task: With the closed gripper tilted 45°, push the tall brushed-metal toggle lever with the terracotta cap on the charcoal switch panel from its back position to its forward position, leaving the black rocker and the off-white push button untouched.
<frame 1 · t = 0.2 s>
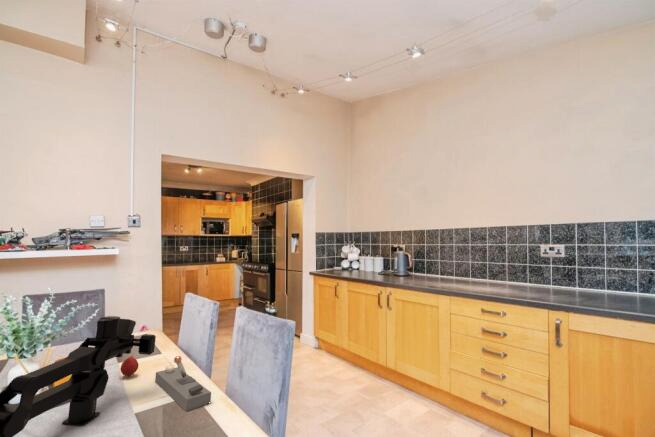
hand: (142, 337, 121), 16 cm above the table, tool horizontal, fingers open, 9 cm apart
push button: (169, 368, 123), point 4 cm above the table, slide at 0.0 cm
rocker: (195, 389, 107), point 5 cm above the table, hinge at -10.0°
switch panel: (181, 391, 114), on the table
onion: (128, 377, 124), on the table
toggle lever: (179, 363, 114), point 10 cm above the table, hinge at -25.0°
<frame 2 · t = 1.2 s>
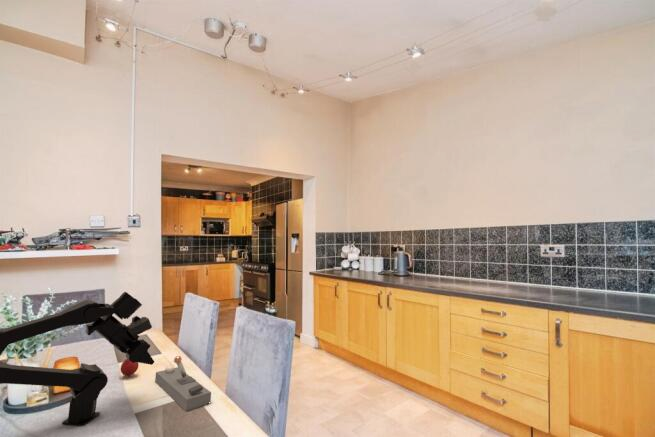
hand: (149, 360, 108), 13 cm above the table, tool tilted 45°, fingers open, 7 cm apart
nothing on the table moved.
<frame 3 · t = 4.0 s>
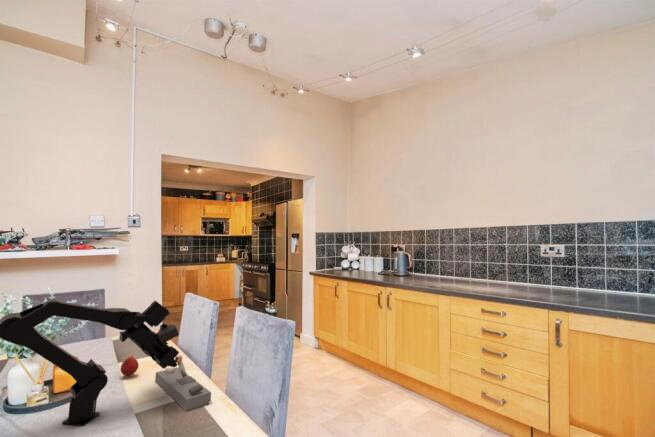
hand: (175, 365, 113), 9 cm above the table, tool tilted 45°, fingers closed, pressing on toggle lever
toggle lever: (180, 363, 114), point 10 cm above the table, hinge at -22.8°, touching gripper
everything else where it was.
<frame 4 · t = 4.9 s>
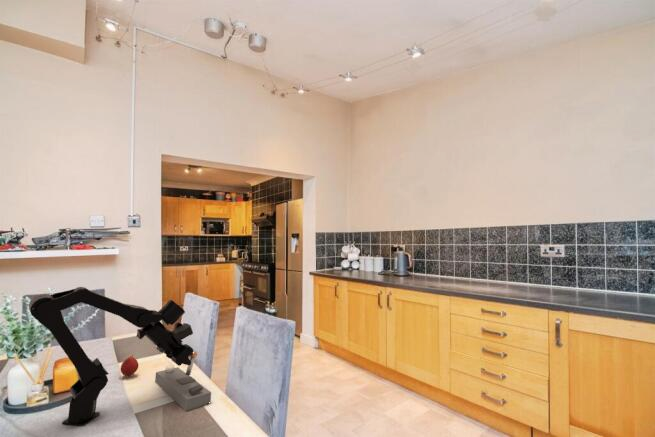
hand: (189, 363, 117), 9 cm above the table, tool tilted 45°, fingers closed on toggle lever
toggle lever: (192, 359, 117), point 10 cm above the table, hinge at 13.1°, touching gripper
everything else where it was.
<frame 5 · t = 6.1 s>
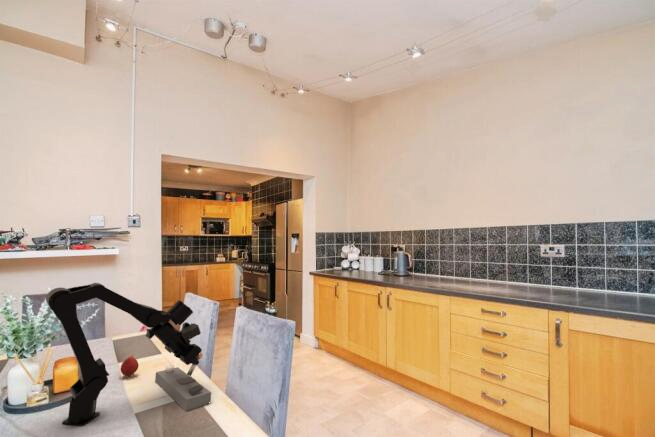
hand: (196, 363, 119), 9 cm above the table, tool tilted 45°, fingers closed on toggle lever, 2 cm apart
toggle lever: (196, 360, 119), point 10 cm above the table, hinge at 28.3°, touching gripper
everything else where it was.
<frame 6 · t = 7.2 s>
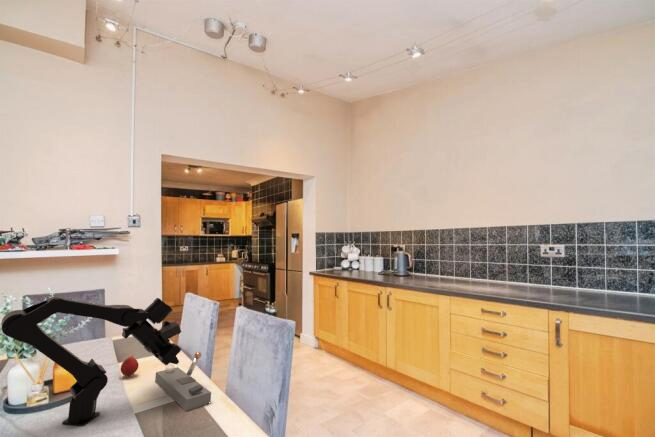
hand: (177, 362, 114), 10 cm above the table, tool tilted 45°, fingers closed
toggle lever: (195, 360, 118), point 10 cm above the table, hinge at 24.7°
everything else where it was.
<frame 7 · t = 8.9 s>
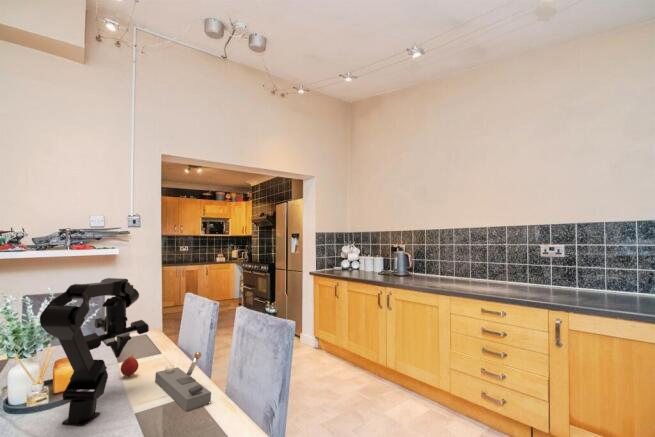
hand: (117, 357, 112), 12 cm above the table, tool pointing down, fingers closed
nothing on the table moved.
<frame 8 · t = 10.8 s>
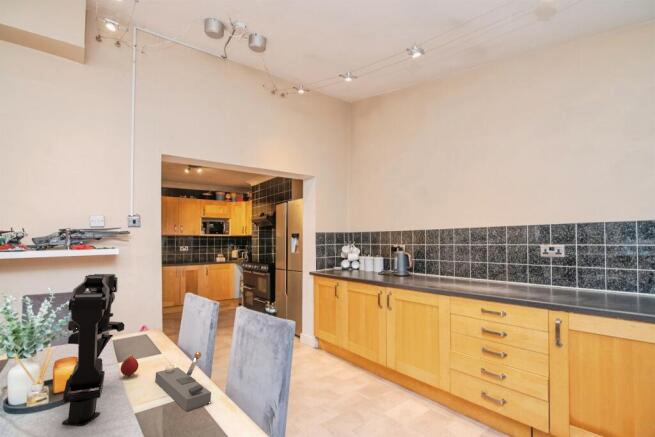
hand: (95, 358, 110), 12 cm above the table, tool pointing down, fingers closed
nothing on the table moved.
at the end: toggle lever at +25° (first picture: -25°); rocker at -10° (first picture: -10°); push button slide at 0.0 cm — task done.
